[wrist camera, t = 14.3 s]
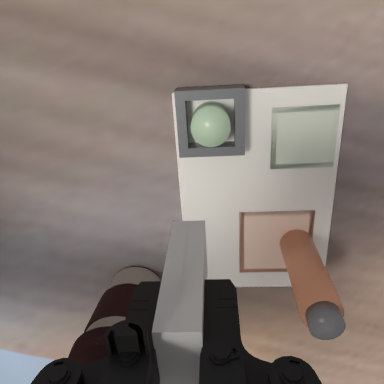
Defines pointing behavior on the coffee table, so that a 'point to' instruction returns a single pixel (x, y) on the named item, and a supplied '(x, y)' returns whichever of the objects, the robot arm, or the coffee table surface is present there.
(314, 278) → the marker
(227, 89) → the button housing
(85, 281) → the coffee table surface
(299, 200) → the sheet
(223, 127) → the button
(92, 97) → the coffee table surface
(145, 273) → the coffee cup
